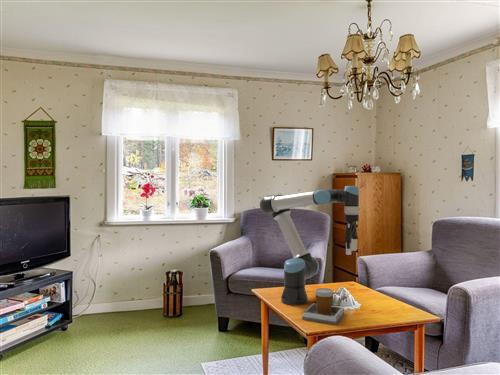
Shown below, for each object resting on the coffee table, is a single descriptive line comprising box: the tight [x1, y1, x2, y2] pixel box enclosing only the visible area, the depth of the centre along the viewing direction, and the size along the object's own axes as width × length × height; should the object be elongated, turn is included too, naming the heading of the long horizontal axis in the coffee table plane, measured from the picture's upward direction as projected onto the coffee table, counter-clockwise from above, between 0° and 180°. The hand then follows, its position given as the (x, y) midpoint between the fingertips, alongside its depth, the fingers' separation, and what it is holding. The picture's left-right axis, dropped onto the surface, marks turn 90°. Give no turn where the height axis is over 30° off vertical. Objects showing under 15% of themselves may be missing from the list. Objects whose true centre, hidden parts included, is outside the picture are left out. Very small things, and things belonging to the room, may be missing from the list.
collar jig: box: [301, 302, 345, 326], centre depth 202 cm, size 17×17×4 cm
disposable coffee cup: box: [314, 287, 335, 315], centre depth 202 cm, size 10×10×12 cm
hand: (351, 252), depth 222 cm, fingers open, 13 cm apart
